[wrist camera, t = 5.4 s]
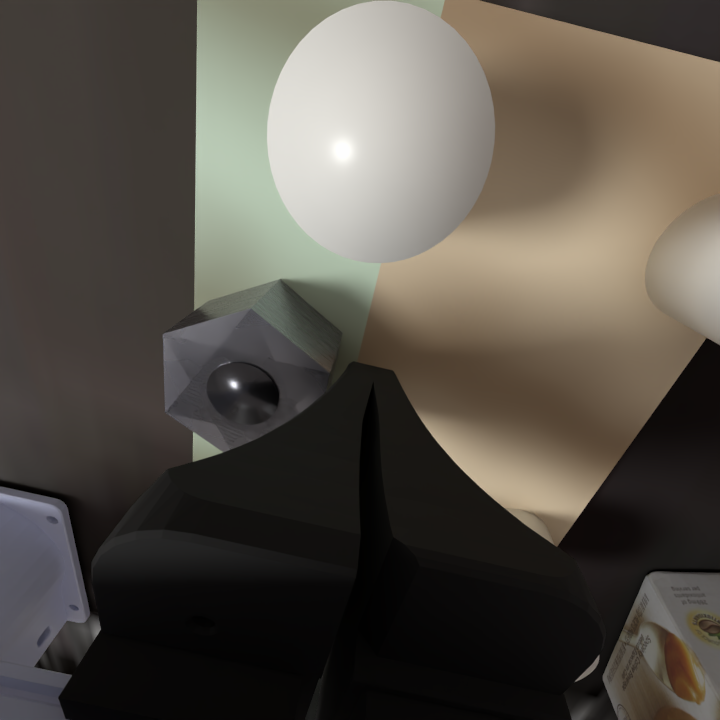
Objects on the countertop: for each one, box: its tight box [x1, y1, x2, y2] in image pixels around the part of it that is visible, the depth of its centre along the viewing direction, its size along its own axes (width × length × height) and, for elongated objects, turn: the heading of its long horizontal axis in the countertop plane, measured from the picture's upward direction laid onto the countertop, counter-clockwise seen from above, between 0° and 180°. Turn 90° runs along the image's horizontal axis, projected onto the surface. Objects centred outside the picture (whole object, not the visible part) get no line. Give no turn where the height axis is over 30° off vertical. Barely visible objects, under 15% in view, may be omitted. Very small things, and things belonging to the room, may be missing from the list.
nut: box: [163, 279, 343, 452], centre depth 11 cm, size 5×4×2 cm
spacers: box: [267, 1, 720, 682], centre depth 10 cm, size 15×14×4 cm
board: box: [193, 0, 720, 547], centre depth 12 cm, size 18×14×1 cm
